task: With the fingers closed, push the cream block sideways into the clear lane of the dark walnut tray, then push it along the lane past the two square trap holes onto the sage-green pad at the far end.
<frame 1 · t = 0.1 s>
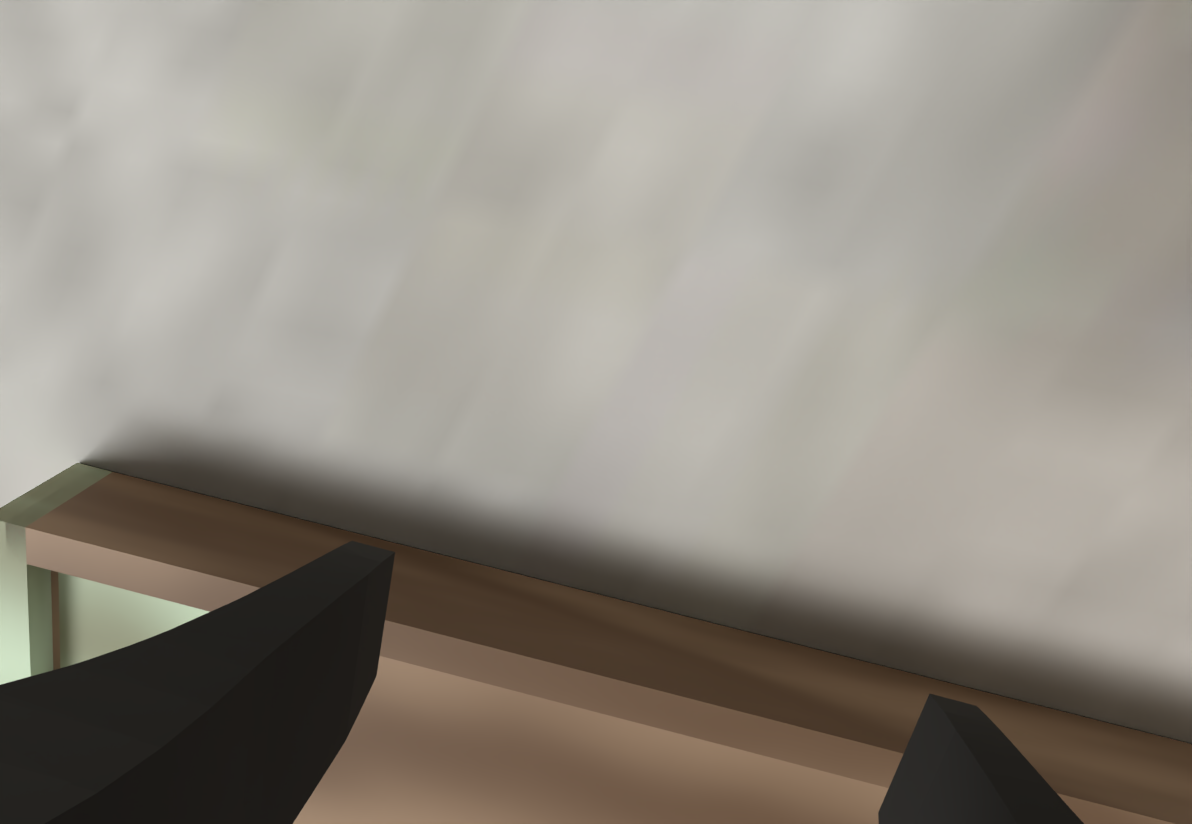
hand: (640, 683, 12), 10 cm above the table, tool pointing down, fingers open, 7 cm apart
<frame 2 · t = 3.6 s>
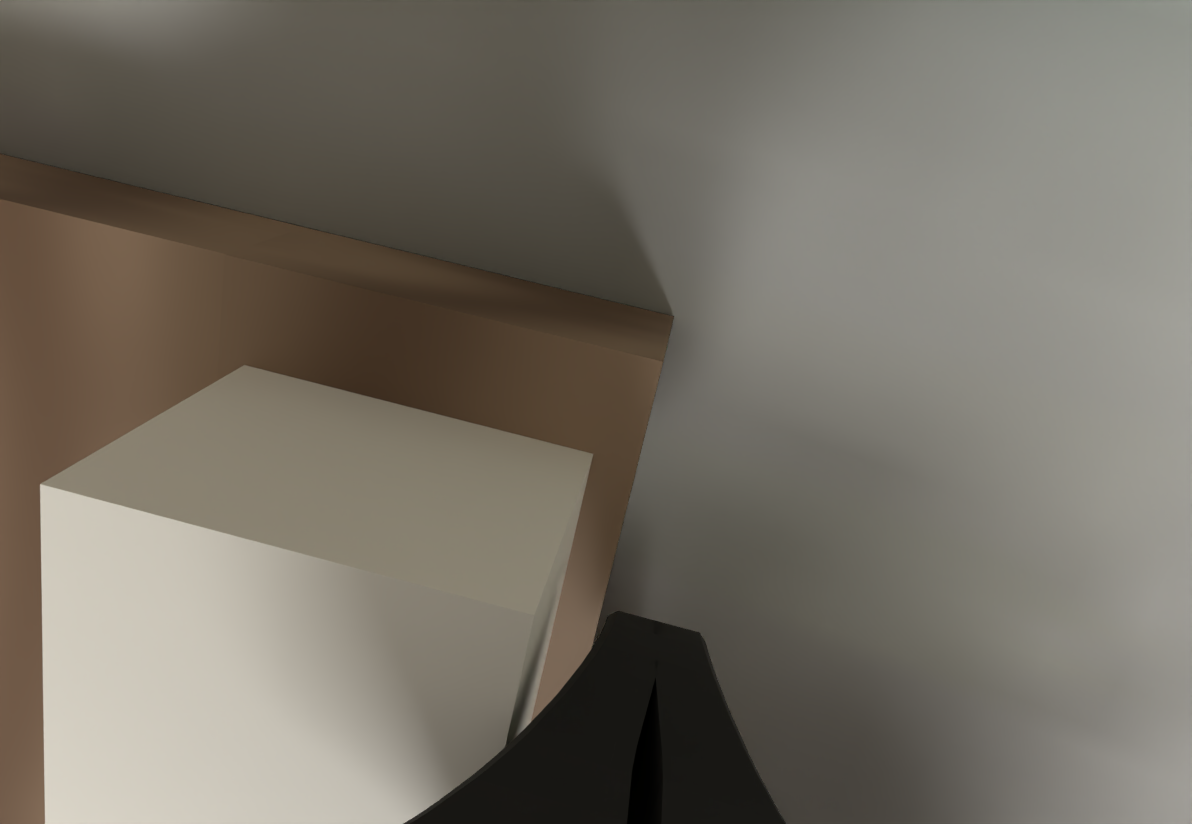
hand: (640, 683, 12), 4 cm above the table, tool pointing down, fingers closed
block: (393, 563, 13), point 2 cm above the table, touching gripper
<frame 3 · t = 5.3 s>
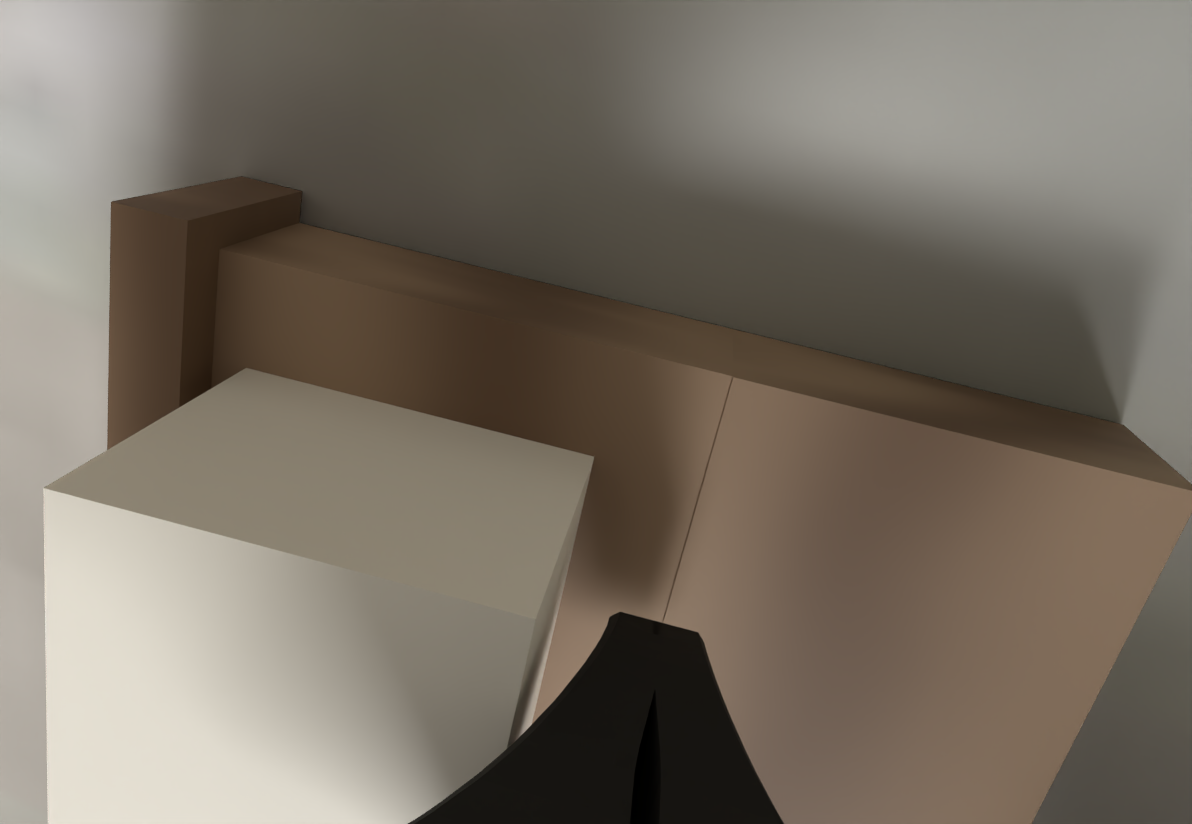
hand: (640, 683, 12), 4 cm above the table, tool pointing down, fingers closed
block: (395, 565, 13), point 2 cm above the table, touching gripper, trap box
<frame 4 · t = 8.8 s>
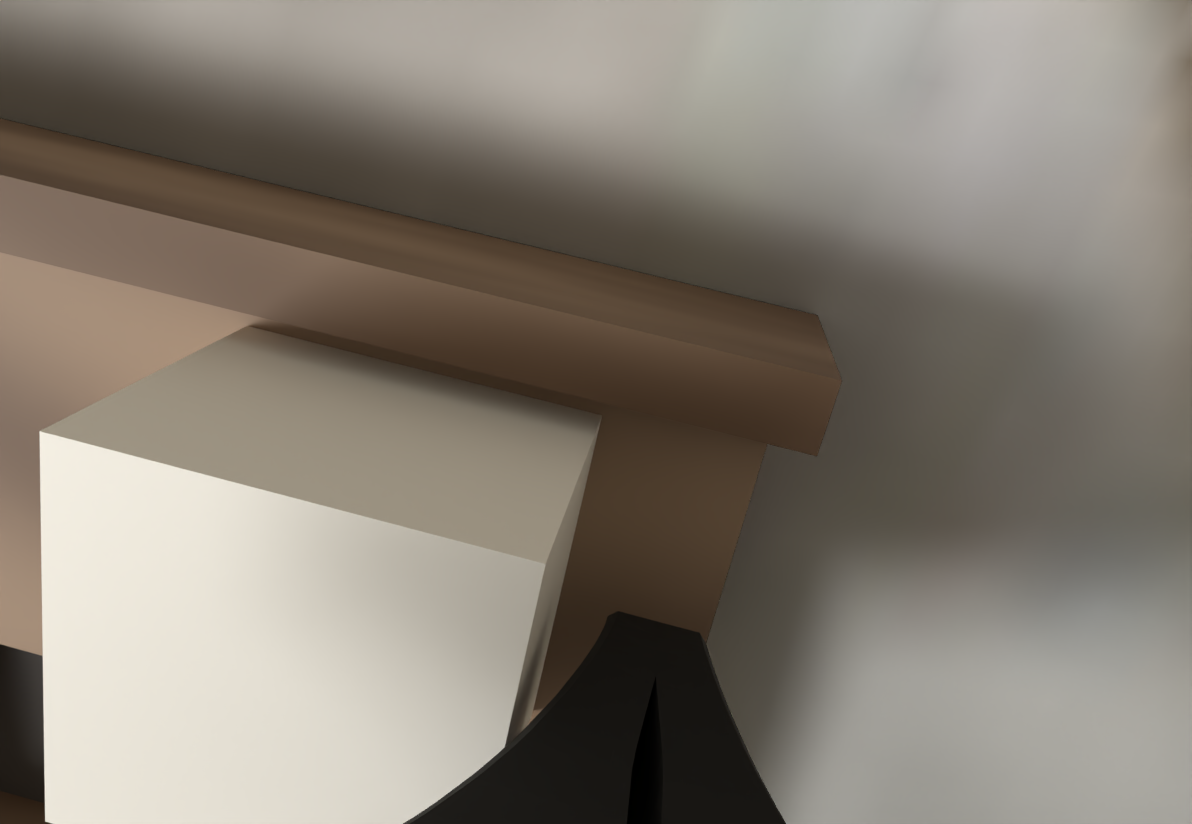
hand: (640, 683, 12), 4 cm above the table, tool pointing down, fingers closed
block: (398, 529, 13), point 2 cm above the table, touching gripper
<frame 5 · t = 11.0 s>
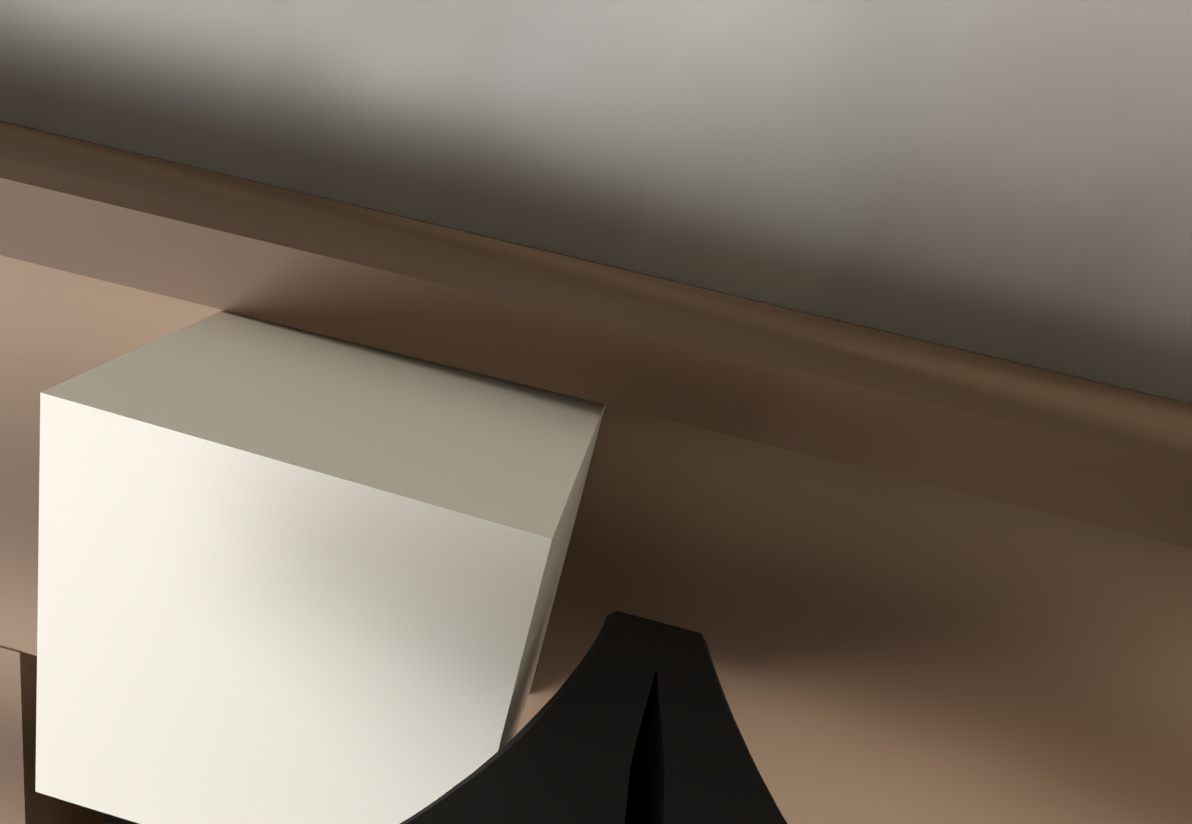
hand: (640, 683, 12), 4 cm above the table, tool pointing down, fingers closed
trap box: (631, 691, 16), on the table
block: (398, 508, 13), point 2 cm above the table, touching gripper
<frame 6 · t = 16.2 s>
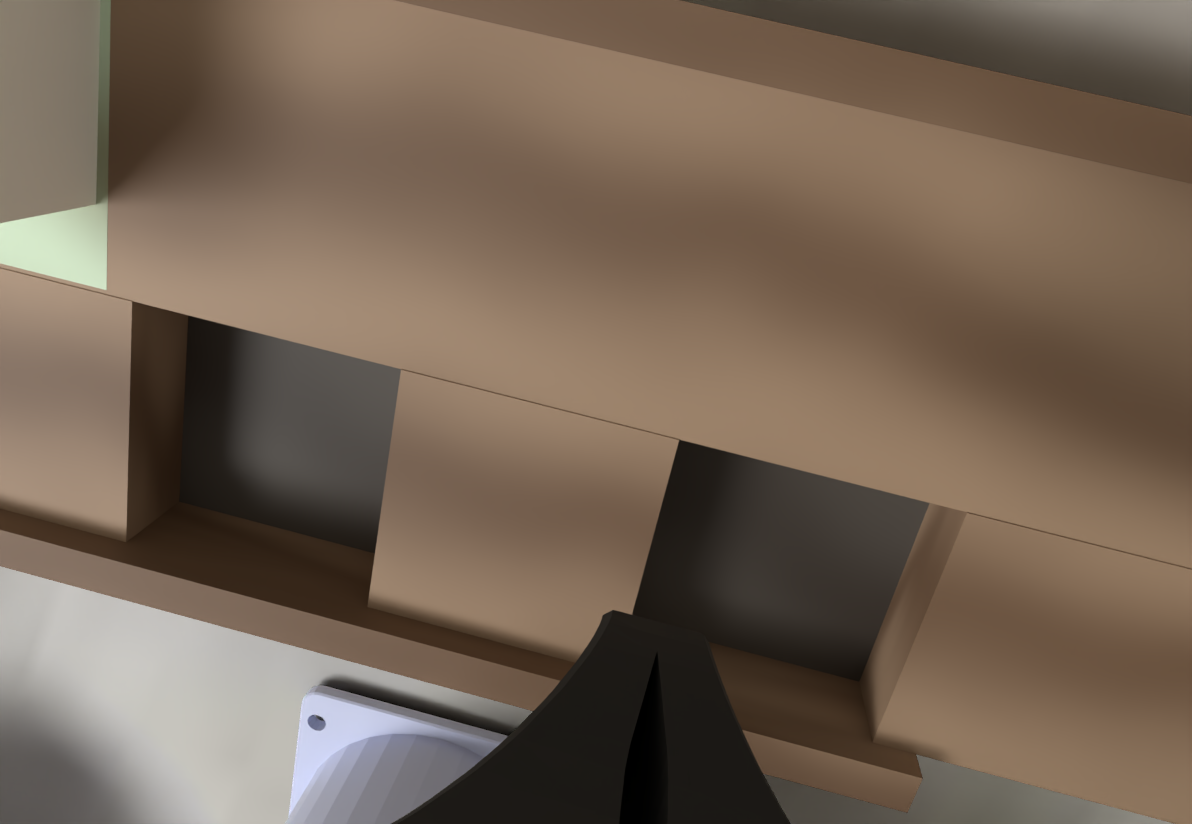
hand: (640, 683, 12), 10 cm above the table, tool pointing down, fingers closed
trap box: (605, 360, 21), on the table
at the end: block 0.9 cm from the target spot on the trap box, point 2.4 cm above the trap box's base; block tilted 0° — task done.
